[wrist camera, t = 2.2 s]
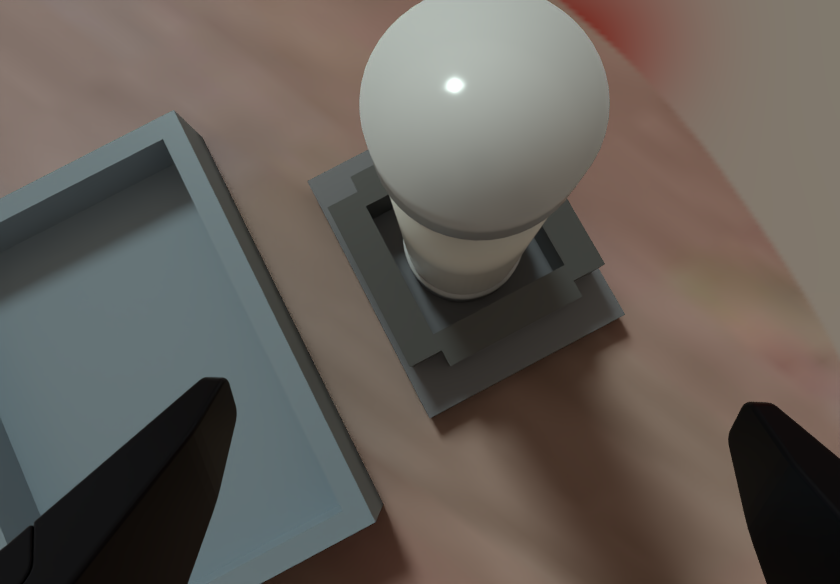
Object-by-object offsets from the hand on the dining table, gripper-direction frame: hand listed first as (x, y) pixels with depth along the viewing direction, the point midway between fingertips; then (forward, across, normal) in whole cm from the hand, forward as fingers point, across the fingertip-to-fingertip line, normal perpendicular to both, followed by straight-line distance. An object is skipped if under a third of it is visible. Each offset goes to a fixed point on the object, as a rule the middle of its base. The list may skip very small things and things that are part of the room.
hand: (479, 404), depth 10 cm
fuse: (+11, 0, +4) cm, 12 cm away
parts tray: (+8, +12, +9) cm, 17 cm away
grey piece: (+12, 0, +5) cm, 13 cm away
